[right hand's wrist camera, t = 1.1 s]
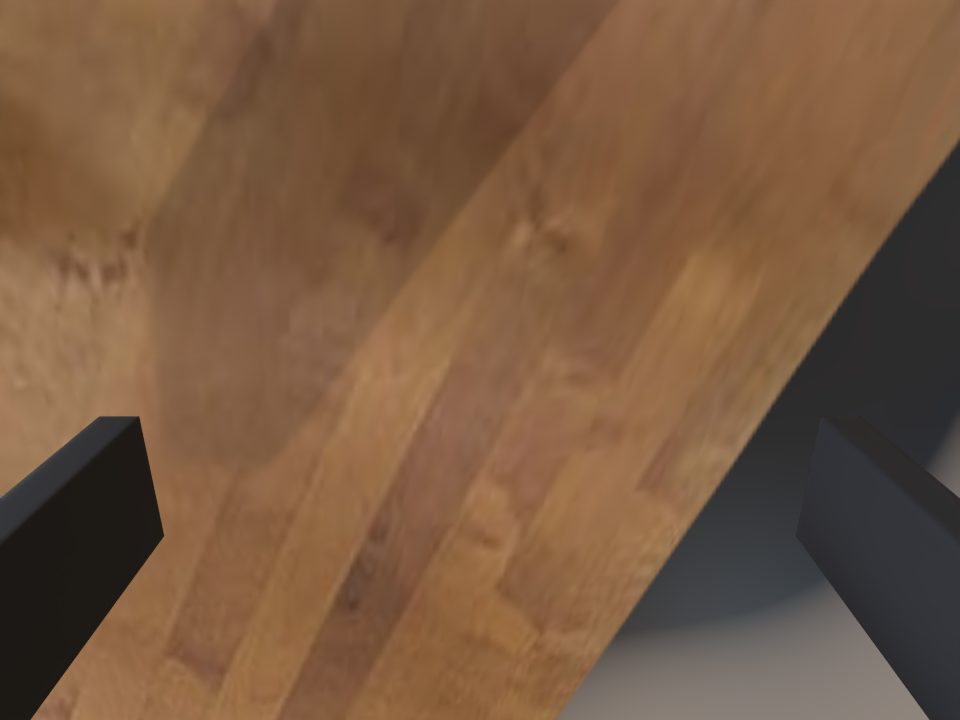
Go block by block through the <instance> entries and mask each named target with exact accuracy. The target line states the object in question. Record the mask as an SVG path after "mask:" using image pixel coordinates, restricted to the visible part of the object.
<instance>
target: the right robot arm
mask: <svg viewBox="0 0 960 720" xmlns="http://www.w3.org/2000/svg"><path fill="white" fill-rule="evenodd" d="M163 537H164V533H163V528H162V523H161V519H160V514H159V509H158V504H157V499H156V495H155V490H154V485H153V480H152V476H151V471H150V466H149V461H148V456H147V452H146V447H145V442H144V437H143V433H142V428H141V423H140V418H139V417H98V418H97V419H96V420H95V421H93V422H92V423H91V424H90V425H89V426H87V427H86V428H85V429H84V430H82V431H81V432H80V433H79V434H78V435H76V436H75V437H74V438H73V439H72V440H70V441H69V442H68V443H67V444H66V445H64V446H63V447H62V448H61V449H59V450H58V451H57V452H56V453H55V454H53V455H52V456H51V457H50V458H49V459H47V460H46V461H45V462H44V463H43V464H41V465H40V466H39V467H38V468H36V469H35V470H34V471H33V472H32V473H30V474H29V475H28V476H27V477H26V478H24V479H23V480H22V481H21V482H20V483H18V484H17V485H16V486H15V487H13V488H12V489H11V490H10V491H9V492H7V493H6V494H5V495H4V496H3V497H1V498H0V720H31V718H32V717H33V715H34V714H35V713H36V711H37V710H38V709H39V707H40V706H41V704H42V703H43V702H44V700H45V699H46V698H47V696H48V695H49V693H50V692H51V691H52V689H53V688H54V687H55V685H56V684H57V682H58V681H59V680H60V678H61V677H62V676H63V674H64V673H65V671H66V670H67V669H68V667H69V666H70V665H71V663H72V662H73V660H74V659H75V658H76V656H77V655H78V654H79V652H80V651H81V649H82V648H83V647H84V645H85V644H86V643H87V641H88V640H89V639H90V637H91V636H92V634H93V633H94V632H95V630H96V629H97V628H98V626H99V625H100V623H101V622H102V621H103V619H104V618H105V617H106V615H107V614H108V612H109V611H110V610H111V608H112V607H113V606H114V604H115V603H116V601H117V600H118V599H119V597H120V596H121V595H122V593H123V592H124V590H125V589H126V588H127V586H128V585H129V584H130V582H131V581H132V579H133V578H134V577H135V575H136V574H137V573H138V571H139V570H140V568H141V567H142V566H143V564H144V563H145V562H146V560H147V559H148V557H149V556H150V555H151V553H152V552H153V551H154V549H155V548H156V546H157V545H158V544H159V542H160V541H161V540H162V538H163ZM796 537H797V538H798V540H799V541H800V542H801V544H802V545H803V546H804V548H805V549H806V551H807V552H808V553H809V555H810V556H811V557H812V559H813V560H814V561H815V563H816V564H817V566H818V567H819V568H820V570H821V571H822V573H823V574H824V575H825V577H826V578H827V579H828V581H829V582H830V584H831V585H832V586H833V588H834V589H835V590H836V592H837V593H838V595H839V596H840V597H841V599H842V600H843V601H844V603H845V604H846V605H847V607H848V608H849V610H850V611H851V612H852V614H853V615H854V617H855V618H856V619H857V621H858V622H859V623H860V625H861V626H862V627H863V629H864V630H865V632H866V633H867V634H868V636H869V637H870V639H871V640H872V641H873V643H874V644H875V645H876V647H877V648H878V649H879V651H880V652H881V654H882V655H883V656H884V658H885V659H886V660H887V662H888V663H889V665H890V666H891V667H892V669H893V670H894V671H895V673H896V674H897V676H898V677H899V678H900V680H901V681H902V682H903V684H904V685H905V687H906V688H907V689H908V691H909V692H910V693H911V695H912V696H913V698H914V699H915V700H916V702H917V703H918V704H919V706H920V707H921V709H922V710H923V711H924V713H925V714H926V715H927V717H928V718H929V720H960V498H959V497H957V496H956V495H955V494H954V493H953V492H951V491H950V490H949V489H948V488H947V487H945V486H944V485H943V484H942V483H940V482H939V481H938V480H937V479H936V478H934V477H933V476H932V475H931V474H930V473H928V472H927V471H926V470H925V469H924V468H922V467H921V466H920V465H919V464H917V463H916V462H915V461H914V460H913V459H911V458H910V457H909V456H908V455H907V454H905V453H904V452H903V451H902V450H900V449H899V448H898V447H897V446H896V445H894V444H893V443H892V442H891V441H890V440H888V439H887V438H886V437H885V436H883V435H882V434H881V433H880V432H879V431H877V430H876V429H875V428H874V427H873V426H871V425H870V424H869V423H868V422H867V421H865V420H864V419H863V418H862V417H821V418H820V423H819V428H818V433H817V437H816V442H815V447H814V452H813V456H812V461H811V466H810V471H809V476H808V480H807V485H806V490H805V495H804V500H803V505H802V509H801V514H800V519H799V523H798V528H797V533H796Z"/></svg>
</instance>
